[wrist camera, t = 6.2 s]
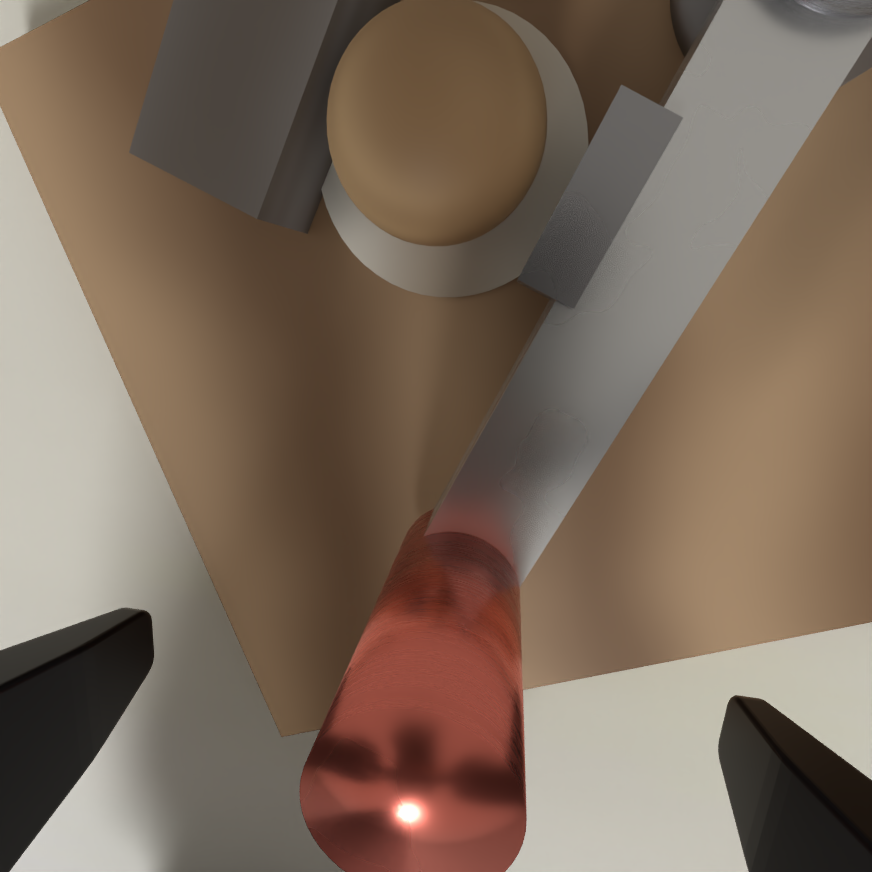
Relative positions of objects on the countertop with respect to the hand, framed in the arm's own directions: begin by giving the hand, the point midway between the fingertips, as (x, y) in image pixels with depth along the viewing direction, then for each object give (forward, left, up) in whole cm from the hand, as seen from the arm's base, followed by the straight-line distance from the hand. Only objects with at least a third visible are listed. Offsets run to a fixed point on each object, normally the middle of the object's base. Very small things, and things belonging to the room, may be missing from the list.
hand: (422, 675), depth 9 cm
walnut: (+2, +8, -2) cm, 9 cm away
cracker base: (+4, +4, -6) cm, 8 cm away
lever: (+5, +4, -4) cm, 7 cm away
